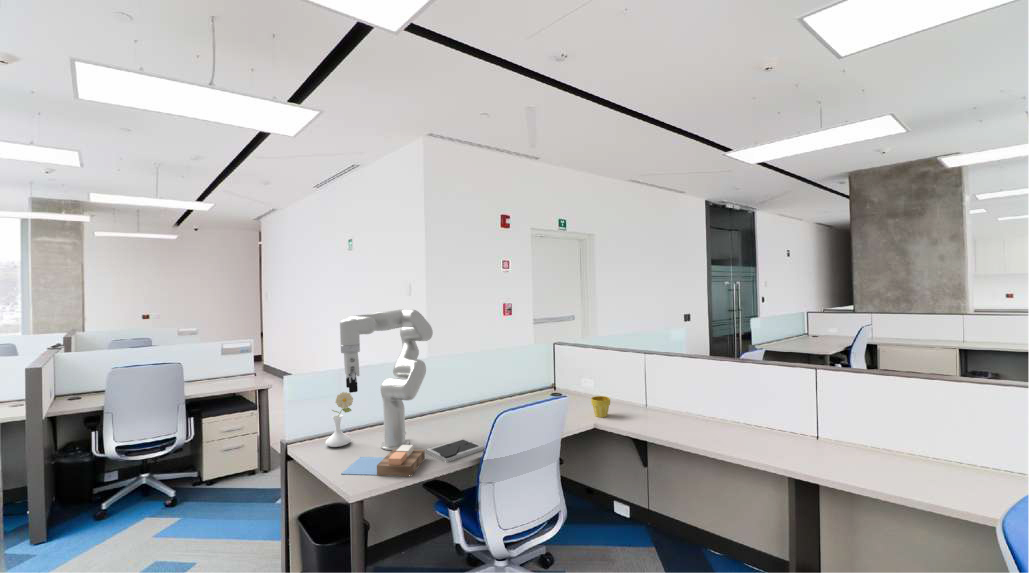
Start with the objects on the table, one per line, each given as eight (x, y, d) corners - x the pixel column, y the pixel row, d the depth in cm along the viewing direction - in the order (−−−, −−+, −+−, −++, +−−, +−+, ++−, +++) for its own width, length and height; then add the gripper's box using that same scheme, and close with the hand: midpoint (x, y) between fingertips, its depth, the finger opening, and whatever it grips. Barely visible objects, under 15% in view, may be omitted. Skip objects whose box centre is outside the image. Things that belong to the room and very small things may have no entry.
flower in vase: (323, 450, 221) (321, 396, 220) (327, 442, 232) (325, 390, 231) (353, 447, 224) (351, 394, 223) (355, 439, 235) (354, 388, 234)
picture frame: (446, 463, 203) (484, 450, 217) (446, 456, 203) (484, 444, 217) (426, 453, 215) (463, 442, 229) (425, 447, 215) (463, 436, 229)
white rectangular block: (402, 450, 207) (402, 444, 207) (413, 450, 206) (413, 445, 206) (396, 456, 200) (396, 450, 200) (407, 456, 199) (407, 450, 199)
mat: (360, 457, 211) (360, 456, 211) (393, 458, 209) (393, 457, 209) (341, 474, 193) (341, 473, 193) (377, 475, 191) (377, 474, 191)
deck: (393, 458, 209) (393, 449, 209) (424, 458, 207) (424, 449, 207) (377, 475, 191) (376, 465, 191) (411, 476, 190) (410, 466, 189)
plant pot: (591, 418, 260) (591, 400, 260) (591, 413, 270) (590, 395, 270) (611, 418, 259) (610, 400, 259) (609, 413, 269) (609, 396, 269)
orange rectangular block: (394, 458, 199) (394, 452, 198) (406, 458, 198) (406, 452, 198) (388, 464, 192) (388, 458, 192) (400, 464, 191) (400, 458, 191)
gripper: (362, 350, 193) (364, 392, 194) (357, 345, 209) (358, 384, 209) (343, 352, 190) (344, 395, 190) (338, 346, 205) (340, 386, 206)
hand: (351, 389), depth 200 cm, fingers open, 9 cm apart
